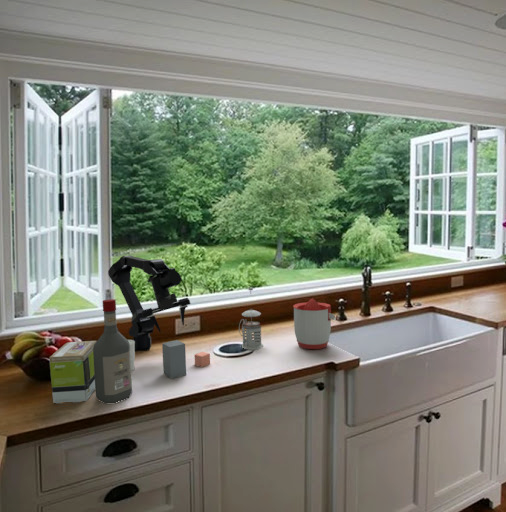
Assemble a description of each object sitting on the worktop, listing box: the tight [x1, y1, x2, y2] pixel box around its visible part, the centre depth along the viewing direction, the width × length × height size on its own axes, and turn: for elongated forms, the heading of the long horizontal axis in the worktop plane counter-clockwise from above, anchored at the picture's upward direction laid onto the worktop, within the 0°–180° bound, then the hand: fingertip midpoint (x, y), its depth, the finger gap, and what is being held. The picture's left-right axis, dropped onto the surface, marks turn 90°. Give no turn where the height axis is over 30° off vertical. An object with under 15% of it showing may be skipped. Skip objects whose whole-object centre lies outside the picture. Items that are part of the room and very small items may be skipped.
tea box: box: [49, 340, 97, 404], centre depth 131 cm, size 15×10×15 cm, turn 5°
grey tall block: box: [161, 339, 187, 379], centre depth 145 cm, size 6×6×11 cm
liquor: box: [93, 298, 133, 404], centre depth 126 cm, size 9×9×30 cm
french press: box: [238, 286, 265, 350], centre depth 174 cm, size 10×12×25 cm
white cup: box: [127, 339, 136, 372], centre depth 151 cm, size 8×8×10 cm
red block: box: [194, 351, 211, 368], centre depth 155 cm, size 4×4×4 cm
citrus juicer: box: [292, 298, 336, 350], centre depth 173 cm, size 16×17×20 cm
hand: (171, 328), depth 164 cm, fingers open, 9 cm apart
